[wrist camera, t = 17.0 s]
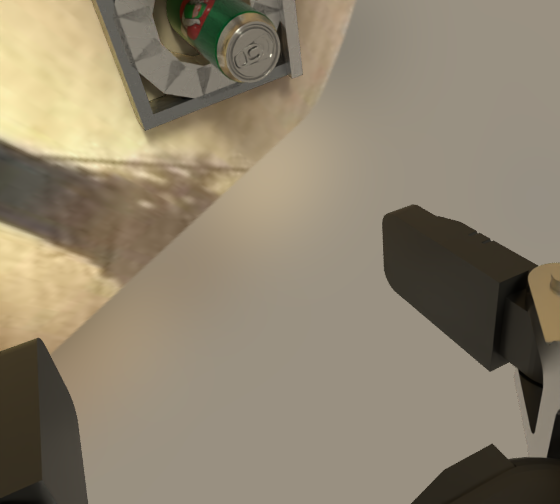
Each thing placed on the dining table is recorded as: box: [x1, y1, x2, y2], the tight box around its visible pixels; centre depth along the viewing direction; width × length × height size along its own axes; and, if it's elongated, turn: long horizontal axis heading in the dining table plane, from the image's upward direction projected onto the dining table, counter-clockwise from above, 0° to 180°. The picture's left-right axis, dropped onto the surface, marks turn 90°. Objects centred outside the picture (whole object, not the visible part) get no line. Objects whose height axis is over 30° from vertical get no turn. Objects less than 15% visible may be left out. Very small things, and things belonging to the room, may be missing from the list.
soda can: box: [166, 0, 280, 83], centre depth 40 cm, size 5×5×12 cm
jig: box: [92, 0, 303, 131], centre depth 43 cm, size 16×16×4 cm
